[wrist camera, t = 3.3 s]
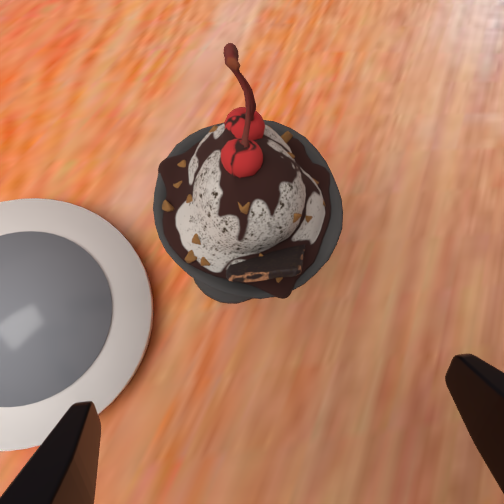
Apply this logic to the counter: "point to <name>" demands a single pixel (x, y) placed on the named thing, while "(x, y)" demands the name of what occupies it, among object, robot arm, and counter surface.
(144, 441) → the counter surface
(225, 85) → the counter surface
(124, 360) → the serving plate
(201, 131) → the sundae
